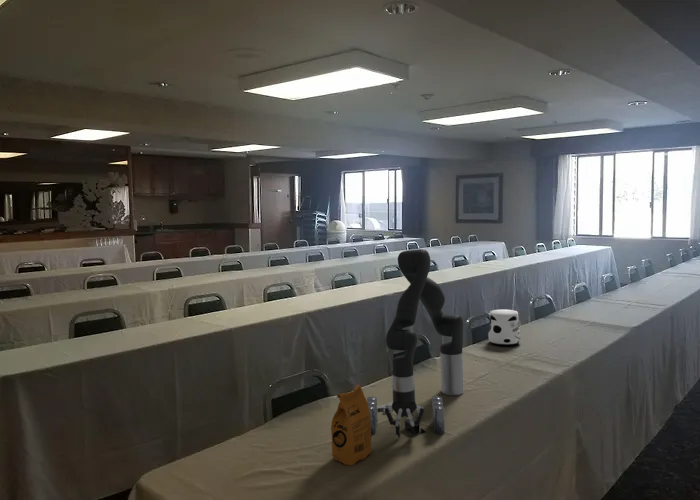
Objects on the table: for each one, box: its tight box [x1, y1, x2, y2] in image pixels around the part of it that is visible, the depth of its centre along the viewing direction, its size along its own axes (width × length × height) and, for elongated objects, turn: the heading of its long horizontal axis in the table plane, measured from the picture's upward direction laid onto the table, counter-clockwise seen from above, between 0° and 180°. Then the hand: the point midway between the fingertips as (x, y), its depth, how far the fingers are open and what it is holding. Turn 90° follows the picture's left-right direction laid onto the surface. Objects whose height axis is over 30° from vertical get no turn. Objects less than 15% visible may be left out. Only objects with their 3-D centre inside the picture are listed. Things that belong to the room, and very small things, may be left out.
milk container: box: [487, 308, 521, 347], centre depth 292 cm, size 17×17×18 cm
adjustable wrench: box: [377, 400, 394, 415], centre depth 211 cm, size 25×6×2 cm, turn 137°
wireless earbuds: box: [403, 418, 427, 435], centre depth 185 cm, size 5×7×3 cm, turn 26°
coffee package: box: [330, 384, 372, 466], centre depth 167 cm, size 10×12×22 cm
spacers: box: [366, 396, 446, 436], centre depth 188 cm, size 13×28×9 cm, turn 84°
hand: (405, 435), depth 179 cm, fingers open, 4 cm apart
